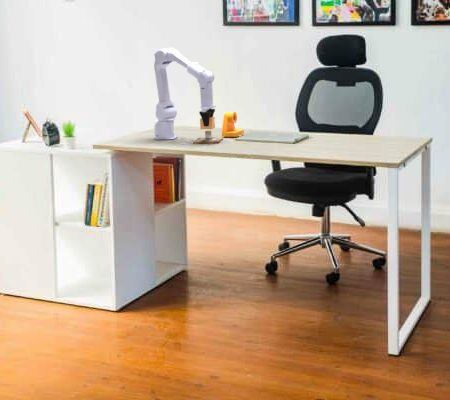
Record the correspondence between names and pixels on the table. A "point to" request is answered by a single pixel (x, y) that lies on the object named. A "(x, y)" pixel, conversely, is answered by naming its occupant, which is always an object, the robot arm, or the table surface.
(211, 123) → the collar
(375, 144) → the table surface
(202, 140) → the post base
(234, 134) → the bracket
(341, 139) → the table surface
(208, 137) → the steel post
